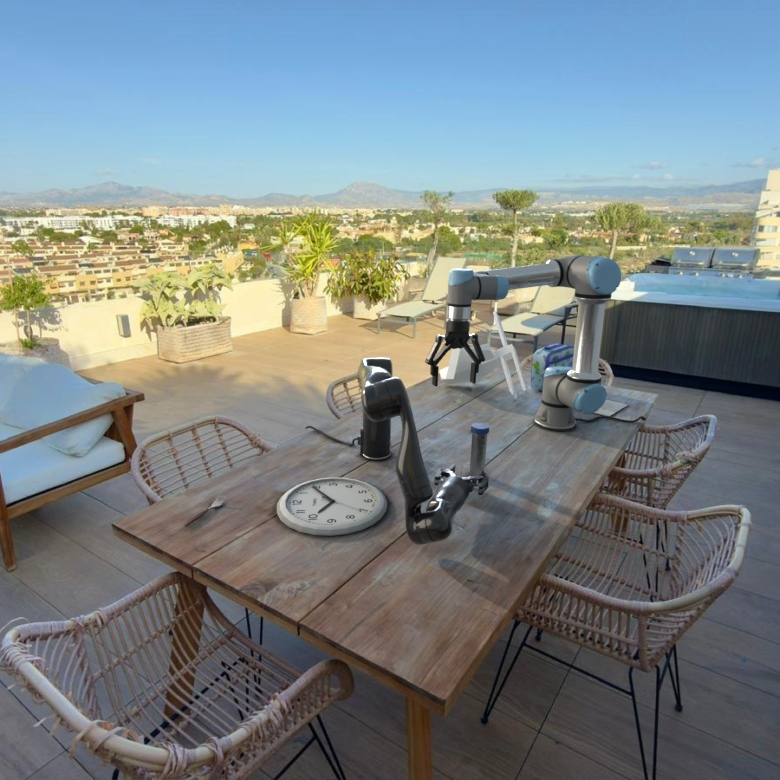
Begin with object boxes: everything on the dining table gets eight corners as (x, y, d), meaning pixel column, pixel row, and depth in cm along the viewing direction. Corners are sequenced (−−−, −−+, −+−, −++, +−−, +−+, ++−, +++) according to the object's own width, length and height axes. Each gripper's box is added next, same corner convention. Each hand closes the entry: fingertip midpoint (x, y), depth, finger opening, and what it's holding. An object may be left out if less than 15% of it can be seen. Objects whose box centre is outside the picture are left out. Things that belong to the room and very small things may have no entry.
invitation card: (608, 416, 214) (573, 407, 224) (608, 416, 214) (573, 408, 224) (628, 404, 229) (594, 396, 238) (628, 405, 229) (594, 397, 238)
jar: (482, 480, 159) (486, 430, 154) (467, 477, 160) (471, 428, 155) (485, 474, 163) (489, 425, 158) (471, 471, 164) (474, 423, 159)
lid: (486, 435, 154) (487, 430, 153) (469, 433, 156) (469, 427, 155) (490, 429, 158) (491, 424, 158) (473, 427, 160) (473, 421, 160)
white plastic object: (461, 429, 252) (437, 405, 227) (444, 352, 274) (420, 323, 250) (535, 404, 240) (518, 377, 215) (510, 326, 262) (492, 293, 237)
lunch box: (547, 395, 239) (552, 351, 233) (526, 390, 247) (530, 347, 240) (574, 384, 257) (579, 343, 251) (554, 380, 264) (558, 339, 258)
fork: (180, 527, 131) (179, 520, 130) (221, 497, 145) (220, 491, 145) (189, 529, 130) (188, 522, 130) (228, 499, 144) (228, 493, 144)
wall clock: (392, 527, 129) (268, 531, 127) (391, 533, 130) (269, 537, 127) (383, 473, 158) (282, 475, 155) (383, 478, 158) (282, 480, 156)
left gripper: (478, 488, 132) (493, 463, 146) (425, 477, 138) (445, 454, 152) (476, 514, 134) (491, 487, 148) (424, 502, 140) (444, 477, 154)
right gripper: (487, 316, 172) (482, 378, 178) (417, 318, 164) (414, 383, 170) (499, 320, 165) (493, 384, 171) (426, 322, 157) (422, 389, 164)
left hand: (468, 470), depth 150 cm, fingers open, 8 cm apart
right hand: (453, 383), depth 171 cm, fingers open, 13 cm apart
